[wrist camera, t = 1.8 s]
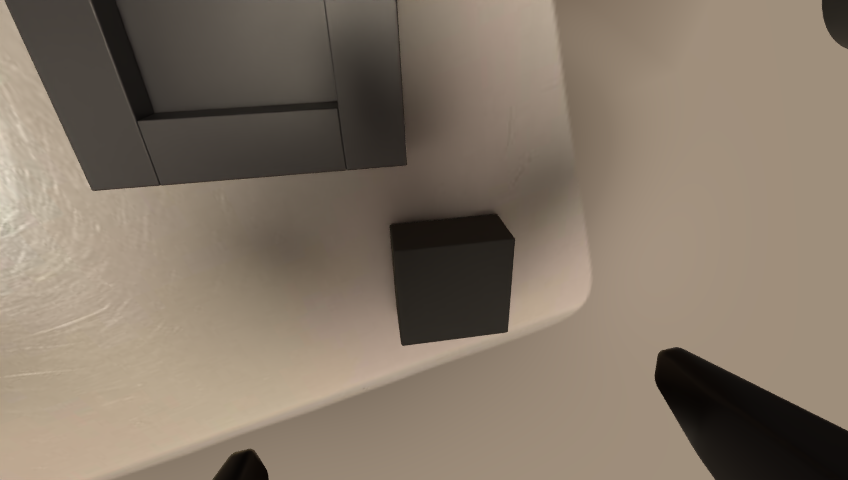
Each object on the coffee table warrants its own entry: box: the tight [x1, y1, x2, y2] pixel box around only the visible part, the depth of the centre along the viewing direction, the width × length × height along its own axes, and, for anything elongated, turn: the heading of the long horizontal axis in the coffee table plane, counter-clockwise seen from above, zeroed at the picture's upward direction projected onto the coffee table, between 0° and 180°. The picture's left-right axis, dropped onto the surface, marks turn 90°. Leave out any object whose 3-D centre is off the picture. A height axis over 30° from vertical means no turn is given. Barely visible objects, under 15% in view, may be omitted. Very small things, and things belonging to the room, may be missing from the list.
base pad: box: [5, 0, 407, 191], centre depth 14 cm, size 12×12×2 cm
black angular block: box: [390, 214, 515, 346], centre depth 21 cm, size 6×6×3 cm
